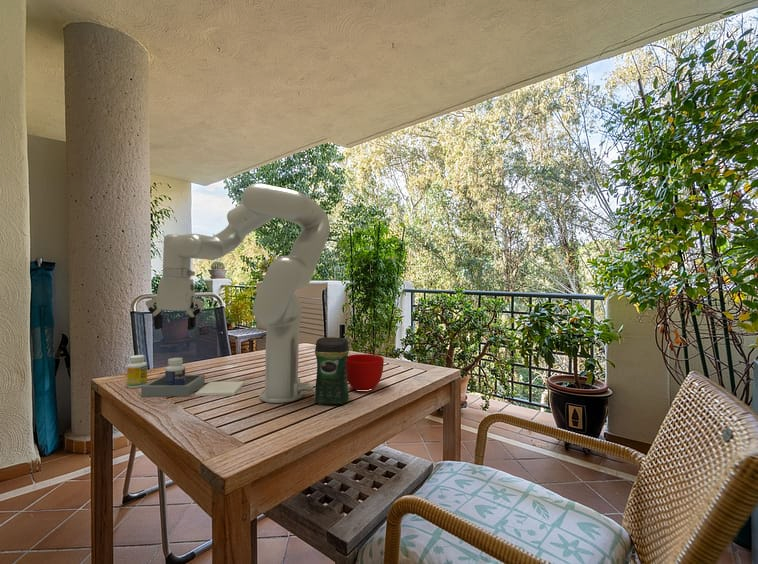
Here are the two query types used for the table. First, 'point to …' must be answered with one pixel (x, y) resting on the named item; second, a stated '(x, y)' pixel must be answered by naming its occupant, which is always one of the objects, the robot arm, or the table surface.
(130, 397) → the table surface
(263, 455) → the table surface
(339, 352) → the coffee jar
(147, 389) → the bin
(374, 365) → the ceramic cup
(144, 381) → the supplement bottle
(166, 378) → the pill bottle
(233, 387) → the tile
